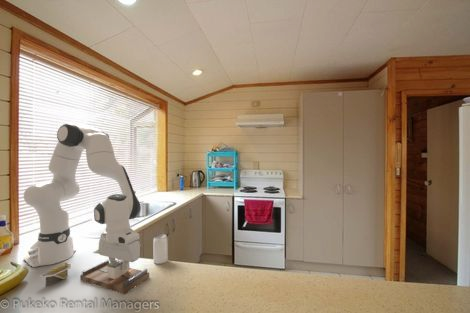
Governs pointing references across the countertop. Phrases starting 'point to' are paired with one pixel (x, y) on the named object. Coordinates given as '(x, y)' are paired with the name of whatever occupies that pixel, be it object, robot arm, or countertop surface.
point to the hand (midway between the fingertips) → (118, 268)
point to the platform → (57, 273)
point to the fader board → (120, 284)
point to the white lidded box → (116, 269)
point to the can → (160, 249)
